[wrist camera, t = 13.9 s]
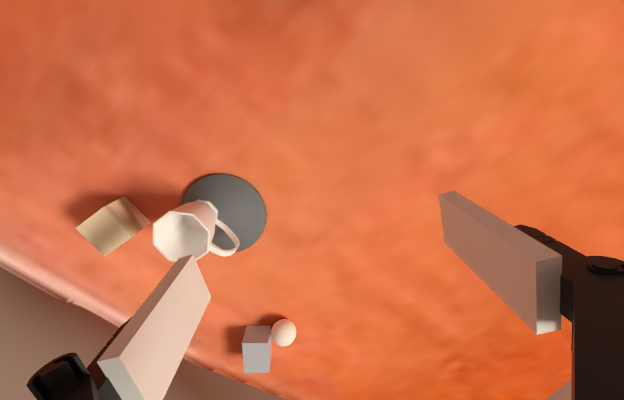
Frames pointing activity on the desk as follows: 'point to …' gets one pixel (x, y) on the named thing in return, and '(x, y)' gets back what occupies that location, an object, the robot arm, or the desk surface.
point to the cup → (190, 231)
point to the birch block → (113, 225)
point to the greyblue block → (257, 349)
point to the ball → (283, 332)
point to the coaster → (231, 208)
